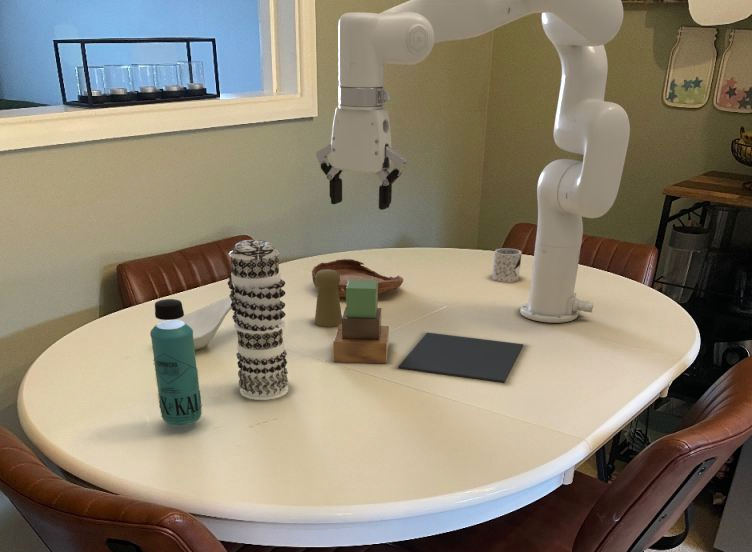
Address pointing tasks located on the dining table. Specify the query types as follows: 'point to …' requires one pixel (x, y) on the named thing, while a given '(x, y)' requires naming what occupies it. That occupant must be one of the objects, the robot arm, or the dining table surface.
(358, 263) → the wooden bowl
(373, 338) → the walnut block
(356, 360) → the oak block
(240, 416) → the dining table surface
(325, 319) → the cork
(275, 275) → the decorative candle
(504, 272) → the mug
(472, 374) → the mat
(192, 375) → the beverage bottle
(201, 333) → the spoon rest
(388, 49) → the robot arm
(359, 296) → the green block
